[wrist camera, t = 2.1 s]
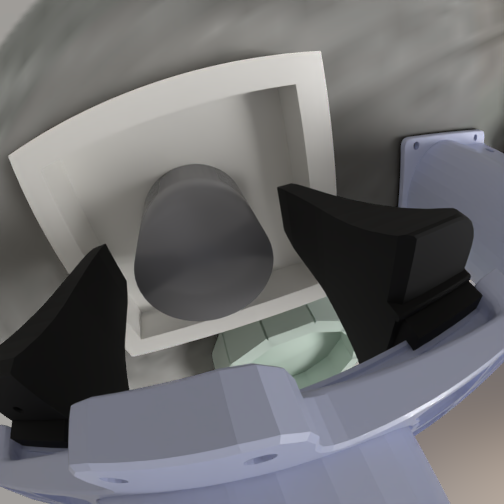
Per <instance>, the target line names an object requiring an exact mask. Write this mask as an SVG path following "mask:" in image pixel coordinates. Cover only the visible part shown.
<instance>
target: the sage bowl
mask: <svg viewBox="0 0 504 504" xmlns="http://www.w3.org/2000/svg"><path fill="white" fill-rule="evenodd" d="M212 358H213V363H214V368H215V370H216V369H219V368H226V367H232V366H238V365H244V364H250V363H254V364H262V365H269V366H277V367H281V368H284V369H285V370H286V371H287V372H288V373H289V374H290V375H291V376H292V377H293V378H294V379H295V381H296V383H297V385H298V388H299V390H300V389H302V388H305V387H307V386H310V385H313V384H315V383H318V382H320V381H322V380H325V379H327V378H330V377H332V376H334V375H337V374H339V373H341V372H343V371H346V370H348V369H350V368H352V367H353V366H354V365H355V364H356V363H357V362H358V359H357V357H356V354H355V352H354V350H353V347H352V345H351V343H350V341H349V339H348V336H347V334H346V332H345V330H344V328H343V326H342V324H341V322H340V320H339V318H338V316H337V314H336V312H335V310H334V308H333V306H332V304H331V303H330V301H329V299H328V297H327V296H326V297H324V298H321V299H318V300H316V301H313V302H310V303H308V304H305V305H302V306H299V307H297V308H294V309H291V310H288V311H285V312H283V313H280V314H277V315H274V316H271V317H268V318H265V319H262V320H259V321H256V322H253V323H250V324H247V325H244V326H241V327H238V328H234V329H231V330H228V331H225V332H222V333H219V336H218V338H217V341H216V344H215V347H214V349H213V352H212Z"/></svg>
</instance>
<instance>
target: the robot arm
mask: <svg viewBox="0 0 504 504" xmlns="http://www.w3.org/2000/svg"><path fill="white" fill-rule="evenodd" d="M414 143H415V145H414ZM413 146H414V147H413ZM277 191H278V197H279V203H280V209H281V215H282V222H283V228H284V231H285V233H286V235H287V237H288V239H289V241H290V243H291V245H292V246H293V248H294V250H295V251H296V252H297V254H298V255H299V257H300V258H301V259H302V261H303V262H304V263H305V265H306V266H307V268H308V269H309V270H310V272H311V273H312V274H313V276H314V277H315V279H316V280H317V281H318V283H319V284H320V286H321V287H322V289H323V290H324V292H325V293H326V295H327V297H328V299H329V301H330V303H331V304H332V306H333V308H334V310H335V312H336V314H337V316H338V318H339V320H340V322H341V324H342V326H343V328H344V330H345V332H346V334H347V336H348V339H349V341H350V343H351V345H352V347H353V350H354V352H355V354H356V357H357V359H358V362H359V365H356V366H354V367H352V368H350V369H348V370H346V371H343V372H341V373H339V374H337V375H334V376H332V377H330V378H327V379H325V380H322V381H320V382H318V383H315V384H313V385H310V386H307V387H305V388H302V389H300V390H299V388H298V385H297V383H296V381H295V379H294V378H293V377H292V376H291V375H290V374H289V373H288V372H287V371H286V370H285V369H284V368H281V367H277V366H269V365H262V364H254V363H250V364H244V365H238V366H232V367H226V368H219V369H216V370H212V371H209V372H205V373H201V374H198V375H194V376H190V377H186V378H182V379H178V380H174V381H170V382H166V383H162V384H157V385H153V386H148V387H143V388H139V389H134V390H129V386H128V379H127V371H126V361H125V336H126V321H127V307H128V292H127V280H126V279H125V277H124V275H123V274H122V272H121V270H120V268H119V267H118V265H117V263H116V261H115V260H114V258H113V256H112V254H111V252H110V251H109V249H108V247H107V245H106V244H103V245H100V246H98V247H95V248H93V249H92V250H91V251H90V252H89V253H88V254H87V255H86V256H85V257H84V258H83V259H82V260H81V261H80V262H79V264H78V265H77V266H76V267H75V268H74V270H73V271H72V272H71V273H70V274H69V276H68V277H67V278H66V279H65V280H64V282H63V283H62V284H61V285H60V286H59V288H58V289H57V290H56V291H55V292H54V294H53V295H52V296H51V297H50V298H49V299H48V301H47V302H46V303H45V304H44V305H43V306H42V307H41V308H40V309H39V310H38V311H37V312H36V313H35V314H34V315H33V316H32V317H31V318H30V319H29V320H28V321H27V322H26V323H25V324H24V325H23V326H22V327H21V328H20V329H19V330H18V331H16V332H15V333H14V334H13V335H12V336H11V337H9V338H8V339H7V340H6V341H4V342H3V343H2V344H1V345H0V413H2V414H3V415H4V416H6V417H7V418H9V419H10V420H12V427H9V426H5V425H0V486H1V487H3V488H5V489H8V490H10V491H12V492H15V493H18V494H20V495H23V496H26V497H28V498H31V499H34V500H38V501H42V502H46V503H50V504H450V502H449V500H448V498H447V496H446V494H445V492H444V490H443V488H442V486H441V484H440V482H439V481H438V479H437V477H436V475H435V473H434V471H433V469H432V467H431V466H430V464H429V462H428V460H427V458H426V456H425V454H424V453H423V451H422V449H421V447H420V445H419V444H418V442H417V440H416V438H415V437H414V436H416V435H417V434H419V433H420V432H422V431H423V430H424V429H426V428H427V427H429V426H430V425H432V424H433V423H434V422H436V421H437V420H438V419H440V418H441V417H442V416H443V415H445V414H446V413H447V412H449V411H450V410H451V409H453V408H454V407H455V406H456V405H458V404H459V403H460V402H461V401H462V400H464V399H465V398H466V397H467V396H468V395H469V394H470V393H472V392H473V391H474V390H475V389H476V388H477V387H478V386H479V385H481V384H482V383H483V382H484V381H485V380H486V379H487V378H488V377H489V376H490V375H491V374H492V373H493V372H494V371H495V370H496V369H497V368H498V367H499V366H500V365H501V364H502V363H503V362H504V153H502V152H500V151H498V150H496V149H494V148H492V147H490V146H488V145H486V144H484V132H483V131H481V130H479V129H477V130H464V131H453V132H444V133H435V134H426V135H419V136H411V137H406V138H404V139H403V141H402V143H401V169H400V190H399V204H398V207H391V206H382V205H375V204H369V203H364V202H359V201H354V200H350V199H346V198H342V197H338V196H335V195H331V194H328V193H325V192H321V191H318V190H315V189H312V188H309V187H305V186H302V185H298V184H293V183H290V184H287V185H283V186H279V187H277ZM470 279H471V280H472V281H473V282H474V283H475V284H476V285H475V286H473V285H472V284H471V283H470V282H469V280H470Z"/></svg>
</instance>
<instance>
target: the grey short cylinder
mask: <svg viewBox="0 0 504 504" xmlns="http://www.w3.org/2000/svg"><path fill="white" fill-rule="evenodd" d="M273 260H274V257H273V250H272V246H271V243H270V241H269V238H268V236H267V235H266V233H265V231H264V229H263V228H262V226H261V224H260V223H259V221H258V219H257V218H256V216H255V214H254V212H253V211H252V209H251V207H250V206H249V204H248V202H247V201H246V199H245V197H244V196H243V194H242V192H241V191H240V189H239V187H238V186H237V184H236V183H235V181H234V180H233V179H232V178H231V177H230V176H229V175H227V174H226V173H225V172H223V171H221V170H220V169H217V168H215V167H212V166H209V165H204V164H188V165H183V166H179V167H177V168H174V169H172V170H170V171H168V172H166V173H165V174H164V175H162V176H161V177H160V178H159V179H158V180H157V181H156V182H155V183H154V184H153V186H152V187H151V189H150V190H149V192H148V194H147V197H146V199H145V203H144V208H143V213H142V219H141V224H140V230H139V235H138V241H137V248H136V254H135V261H134V275H135V280H136V283H137V286H138V288H139V290H140V292H141V294H142V295H143V297H144V298H145V299H146V300H147V301H148V302H149V303H150V304H151V305H152V306H153V307H154V308H156V309H157V310H159V311H160V312H162V313H164V314H166V315H168V316H171V317H174V318H177V319H181V320H187V321H209V320H216V319H219V318H223V317H226V316H229V315H231V314H234V313H236V312H238V311H240V310H241V309H243V308H245V307H246V306H247V305H249V304H250V303H251V302H252V301H253V300H255V299H256V298H257V297H258V295H259V294H260V293H261V292H262V291H263V289H264V288H265V286H266V285H267V283H268V281H269V279H270V276H271V273H272V269H273Z"/></svg>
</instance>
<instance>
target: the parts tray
mask: <svg viewBox="0 0 504 504" xmlns="http://www.w3.org/2000/svg"><path fill="white" fill-rule="evenodd" d="M8 157H9V160H10V162H11V165H12V167H13V170H14V172H15V174H16V177H17V179H18V181H19V184H20V186H21V188H22V190H23V193H24V195H25V197H26V199H27V201H28V203H29V205H30V207H31V209H32V211H33V213H34V215H35V217H36V219H37V221H38V223H39V225H40V226H41V228H42V230H43V232H44V234H45V235H46V237H47V239H48V241H49V242H50V244H51V246H52V248H53V249H54V251H55V253H56V254H57V256H58V258H59V259H60V261H61V262H62V264H63V266H64V267H65V269H66V270H67V272H68V273H69V274H70V273H71V272H72V271H73V270H74V268H75V267H76V266H77V265H78V264H79V262H80V261H81V260H82V259H83V258H84V257H85V256H86V255H87V254H88V253H89V252H90V251H91V250H92V249H93V248H95V247H98V246H100V245H103V244H106V245H107V247H108V249H109V251H110V252H111V254H112V256H113V258H114V260H115V261H116V263H117V265H118V267H119V268H120V270H121V272H122V274H123V275H124V277H125V279H126V280H127V292H128V307H127V321H126V336H125V349H126V350H127V351H128V352H129V354H130V355H131V356H132V357H134V356H138V355H142V354H146V353H150V352H154V351H158V350H162V349H166V348H169V347H173V346H177V345H180V344H184V343H187V342H191V341H195V340H198V339H201V338H205V337H208V336H212V335H215V334H218V333H222V332H225V331H228V330H231V329H234V328H238V327H241V326H244V325H247V324H250V323H253V322H256V321H259V320H262V319H265V318H268V317H271V316H274V315H277V314H280V313H283V312H285V311H288V310H291V309H294V308H297V307H299V306H302V305H305V304H308V303H310V302H313V301H316V300H318V299H321V298H324V297H326V296H327V295H326V293H325V292H324V290H323V289H322V287H321V286H320V284H319V283H318V281H317V280H316V279H315V277H314V276H313V274H312V273H311V272H310V270H309V269H308V268H307V266H306V265H305V263H304V262H303V261H302V259H301V258H300V257H299V255H298V254H297V252H296V251H295V250H294V248H293V246H292V245H291V243H290V241H289V239H288V237H287V235H286V233H285V231H284V228H283V222H282V215H281V209H280V203H279V197H278V191H277V187H279V186H283V185H287V184H290V183H293V184H298V185H302V186H305V187H309V188H312V189H315V190H318V191H321V192H325V193H328V194H331V195H335V196H337V190H336V173H335V160H334V148H333V137H332V128H331V119H330V110H329V102H328V95H327V88H326V81H325V74H324V68H323V62H322V56H321V51H311V52H298V53H288V54H279V55H271V56H264V57H257V58H251V59H245V60H239V61H234V62H229V63H224V64H220V65H215V66H211V67H207V68H202V69H199V70H195V71H191V72H187V73H184V74H180V75H177V76H173V77H170V78H167V79H164V80H161V81H158V82H155V83H152V84H149V85H146V86H143V87H140V88H138V89H135V90H132V91H130V92H127V93H125V94H122V95H120V96H117V97H115V98H112V99H110V100H108V101H105V102H103V103H101V104H99V105H96V106H94V107H92V108H90V109H88V110H86V111H84V112H82V113H80V114H78V115H76V116H74V117H72V118H70V119H68V120H66V121H64V122H62V123H60V124H59V125H57V126H55V127H53V128H51V129H50V130H48V131H46V132H44V133H43V134H41V135H39V136H38V137H36V138H34V139H33V140H31V141H30V142H28V143H27V144H25V145H23V146H22V147H20V148H19V149H17V150H16V151H14V152H13V153H12V154H10V155H9V156H8ZM188 164H204V165H209V166H212V167H215V168H217V169H220V170H221V171H223V172H225V173H226V174H227V175H229V176H230V177H231V178H232V179H233V180H234V181H235V183H236V184H237V186H238V187H239V189H240V191H241V192H242V194H243V196H244V197H245V199H246V201H247V202H248V204H249V206H250V207H251V209H252V211H253V212H254V214H255V216H256V218H257V219H258V221H259V223H260V224H261V226H262V228H263V229H264V231H265V233H266V235H267V236H268V238H269V241H270V243H271V246H272V250H273V257H274V260H273V269H272V273H271V276H270V279H269V281H268V283H267V285H266V286H265V288H264V289H263V291H262V292H261V293H260V294H259V295H258V297H257V298H256V299H255V300H253V301H252V302H251V303H250V304H249V305H247V306H246V307H245V308H243V309H241V310H240V311H238V312H236V313H234V314H231V315H229V316H226V317H223V318H219V319H216V320H209V321H187V320H181V319H177V318H174V317H171V316H168V315H166V314H164V313H162V312H160V311H159V310H157V309H156V308H154V307H153V306H152V305H151V304H150V303H149V302H148V301H147V300H146V299H145V298H144V297H143V295H142V294H141V292H140V290H139V288H138V286H137V283H136V280H135V275H134V261H135V254H136V248H137V241H138V235H139V230H140V224H141V219H142V213H143V208H144V203H145V199H146V197H147V194H148V192H149V190H150V189H151V187H152V186H153V184H154V183H155V182H156V181H157V180H158V179H159V178H160V177H161V176H162V175H164V174H165V173H166V172H168V171H170V170H172V169H174V168H177V167H179V166H183V165H188Z"/></svg>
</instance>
